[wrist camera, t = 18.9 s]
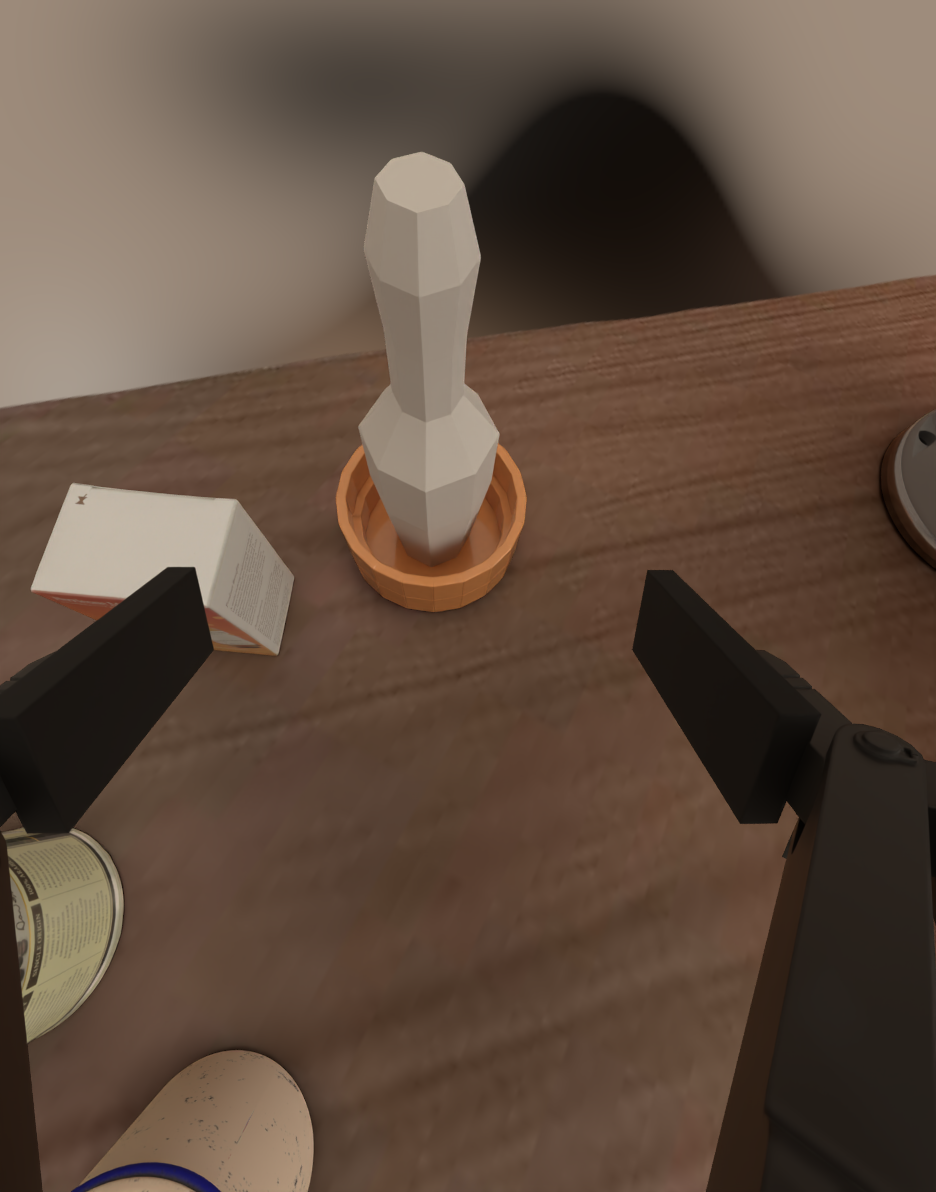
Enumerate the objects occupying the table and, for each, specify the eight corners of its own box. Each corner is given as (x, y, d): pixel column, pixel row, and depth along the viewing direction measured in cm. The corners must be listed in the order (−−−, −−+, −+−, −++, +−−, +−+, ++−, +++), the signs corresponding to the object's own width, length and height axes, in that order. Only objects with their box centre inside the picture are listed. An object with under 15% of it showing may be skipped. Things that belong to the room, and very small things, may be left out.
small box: (153, 646, 32) (21, 592, 22) (177, 564, 34) (65, 479, 24) (280, 658, 32) (207, 609, 22) (298, 576, 34) (237, 496, 24)
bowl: (495, 457, 37) (504, 407, 32) (529, 599, 34) (545, 569, 29) (343, 478, 36) (327, 430, 31) (362, 627, 33) (347, 600, 28)
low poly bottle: (430, 596, 33) (409, 307, 12) (367, 531, 34) (251, 169, 14) (498, 536, 35) (583, 192, 14) (436, 476, 36) (428, 79, 15)
